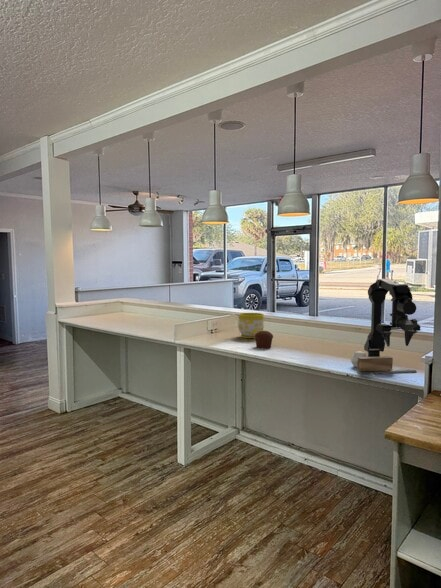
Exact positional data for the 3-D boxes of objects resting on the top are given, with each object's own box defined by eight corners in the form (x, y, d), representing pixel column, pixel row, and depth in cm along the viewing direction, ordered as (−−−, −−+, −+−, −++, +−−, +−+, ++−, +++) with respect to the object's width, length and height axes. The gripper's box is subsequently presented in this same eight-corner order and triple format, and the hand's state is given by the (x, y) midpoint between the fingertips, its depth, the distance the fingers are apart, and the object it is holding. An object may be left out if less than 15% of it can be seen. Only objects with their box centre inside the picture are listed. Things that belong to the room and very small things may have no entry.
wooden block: (357, 369, 194) (357, 357, 194) (388, 368, 197) (389, 356, 196) (360, 371, 191) (360, 358, 191) (392, 370, 194) (392, 357, 193)
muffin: (252, 348, 251) (253, 332, 250) (255, 344, 261) (255, 329, 261) (272, 349, 248) (272, 332, 247) (274, 345, 258) (274, 330, 258)
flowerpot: (232, 336, 290) (232, 313, 289) (251, 334, 302) (251, 312, 300) (250, 340, 276) (250, 316, 275) (269, 337, 288) (269, 314, 287)
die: (350, 370, 202) (361, 356, 197) (344, 358, 209) (355, 344, 204) (363, 374, 204) (375, 361, 200) (357, 362, 211) (368, 349, 207)
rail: (356, 372, 195) (356, 370, 195) (411, 370, 199) (411, 368, 199) (361, 374, 191) (361, 372, 191) (416, 372, 195) (416, 370, 195)
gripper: (390, 314, 176) (389, 350, 177) (429, 313, 179) (428, 349, 180) (376, 311, 187) (375, 345, 188) (413, 310, 190) (411, 344, 191)
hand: (397, 346), depth 186 cm, fingers open, 9 cm apart
